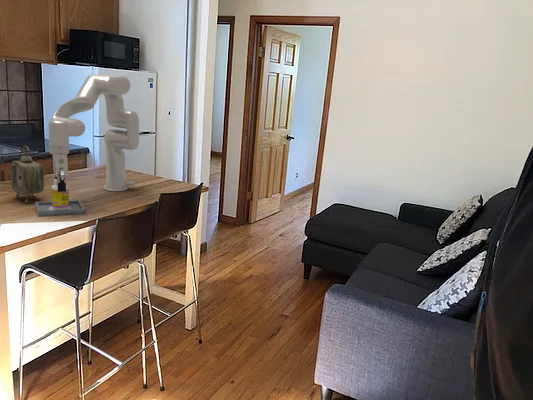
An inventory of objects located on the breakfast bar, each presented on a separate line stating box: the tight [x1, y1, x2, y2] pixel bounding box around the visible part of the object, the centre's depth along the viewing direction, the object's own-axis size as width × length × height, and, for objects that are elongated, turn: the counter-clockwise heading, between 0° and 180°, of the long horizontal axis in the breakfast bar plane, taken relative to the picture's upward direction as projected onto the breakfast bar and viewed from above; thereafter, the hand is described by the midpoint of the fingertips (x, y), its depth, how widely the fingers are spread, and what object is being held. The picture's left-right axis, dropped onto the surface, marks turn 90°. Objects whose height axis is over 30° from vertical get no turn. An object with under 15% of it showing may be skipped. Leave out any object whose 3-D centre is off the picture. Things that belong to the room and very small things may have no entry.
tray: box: [35, 199, 86, 217], centre depth 193 cm, size 18×14×2 cm
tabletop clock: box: [10, 145, 45, 204], centre depth 200 cm, size 14×9×25 cm, turn 48°
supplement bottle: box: [51, 178, 70, 210], centre depth 191 cm, size 7×7×13 cm
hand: (60, 188), depth 191 cm, fingers open, 9 cm apart
